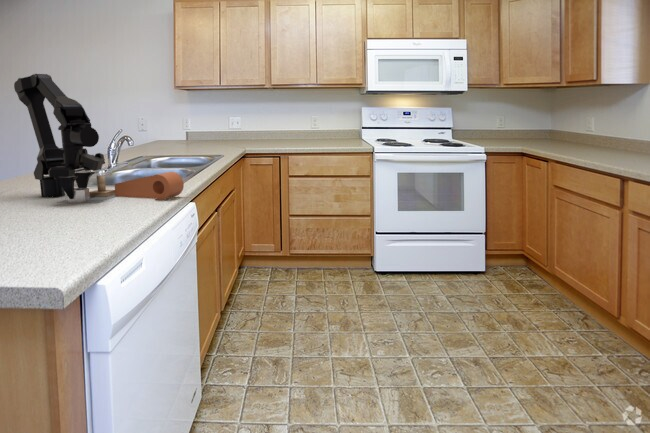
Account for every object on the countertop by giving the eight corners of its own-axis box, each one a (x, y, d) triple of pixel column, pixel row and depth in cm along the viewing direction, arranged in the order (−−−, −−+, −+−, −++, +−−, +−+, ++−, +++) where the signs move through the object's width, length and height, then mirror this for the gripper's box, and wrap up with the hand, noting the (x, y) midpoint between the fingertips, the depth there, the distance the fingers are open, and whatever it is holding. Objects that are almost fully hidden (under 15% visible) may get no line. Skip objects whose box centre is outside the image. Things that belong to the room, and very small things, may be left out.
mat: (56, 204, 172) (56, 202, 171) (85, 195, 188) (85, 193, 188) (98, 204, 170) (97, 202, 170) (123, 195, 187) (123, 194, 187)
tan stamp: (88, 197, 181) (86, 176, 180) (97, 194, 187) (96, 174, 186) (106, 197, 181) (105, 176, 179) (115, 194, 186) (113, 174, 185)
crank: (183, 197, 184) (183, 172, 182) (170, 201, 177) (169, 175, 175) (130, 192, 190) (129, 168, 188) (115, 196, 182) (114, 171, 181)
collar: (62, 202, 172) (61, 190, 171) (73, 198, 178) (72, 187, 178) (82, 202, 171) (81, 190, 171) (93, 198, 178) (92, 187, 177)
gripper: (82, 148, 162) (87, 202, 165) (113, 143, 180) (116, 192, 183) (44, 148, 163) (50, 202, 166) (79, 143, 181) (83, 192, 184)
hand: (77, 197), depth 175 cm, fingers closed on collar, 6 cm apart
